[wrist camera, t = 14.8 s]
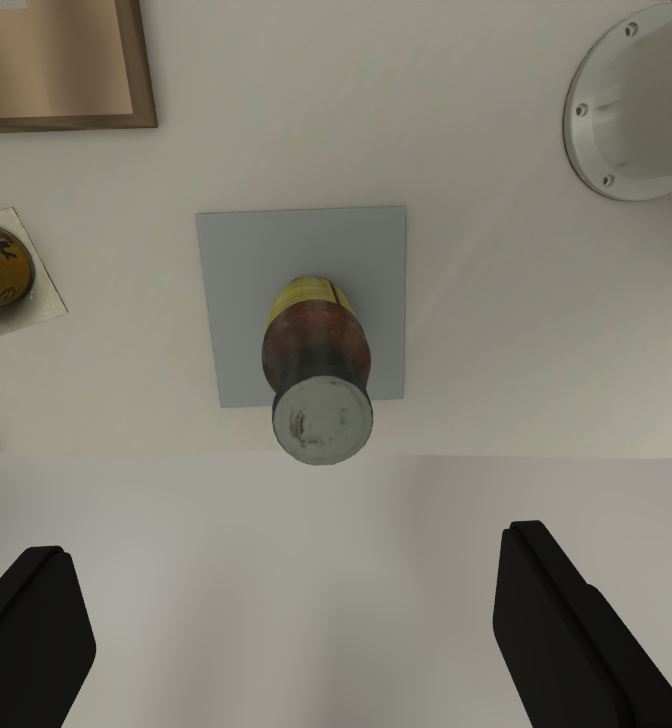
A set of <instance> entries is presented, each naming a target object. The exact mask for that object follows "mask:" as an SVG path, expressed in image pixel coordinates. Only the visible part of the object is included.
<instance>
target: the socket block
mask: <svg viewBox="0 0 672 728" xmlns="http://www.w3.org/2000/svg"><path fill="white" fill-rule="evenodd" d="M26 2H27V6H28V9H24V10H0V133H10V132H40V131H70V130H100V129H130V128H158V126H157V120H156V113H155V106H154V100H153V93H152V86H151V80H150V73H149V66H148V60H147V53H146V46H145V40H144V33H143V27H142V20H141V13H140V7H139V0H26Z"/></svg>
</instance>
